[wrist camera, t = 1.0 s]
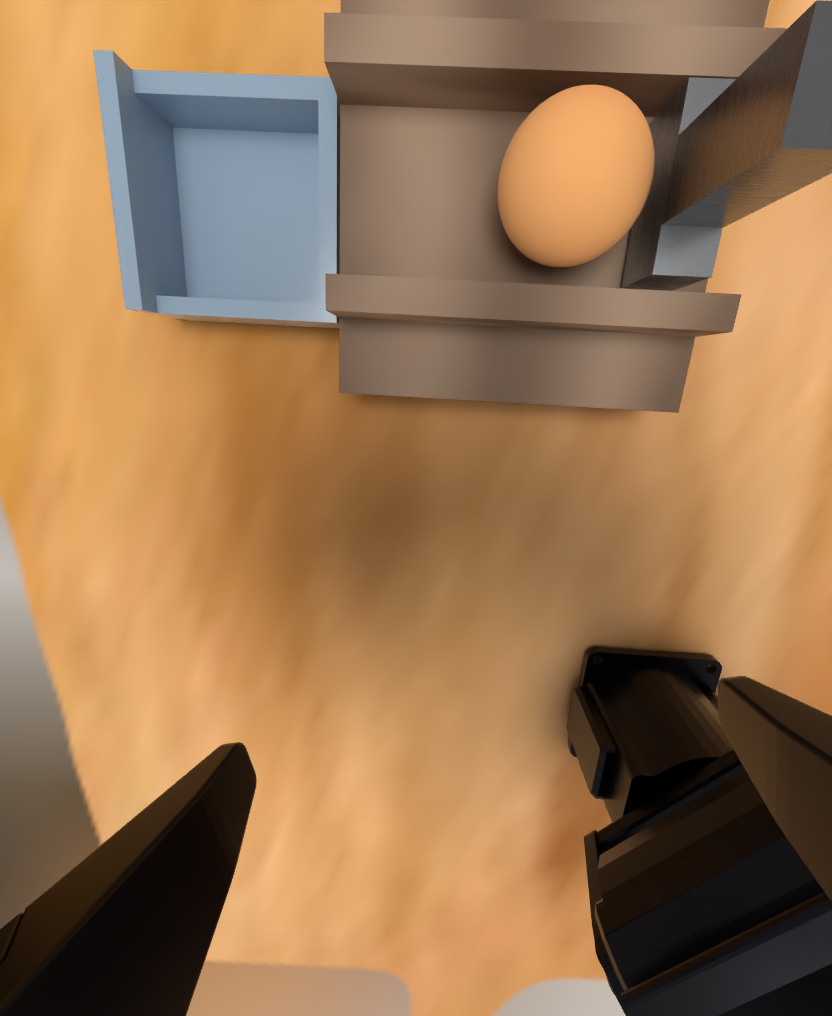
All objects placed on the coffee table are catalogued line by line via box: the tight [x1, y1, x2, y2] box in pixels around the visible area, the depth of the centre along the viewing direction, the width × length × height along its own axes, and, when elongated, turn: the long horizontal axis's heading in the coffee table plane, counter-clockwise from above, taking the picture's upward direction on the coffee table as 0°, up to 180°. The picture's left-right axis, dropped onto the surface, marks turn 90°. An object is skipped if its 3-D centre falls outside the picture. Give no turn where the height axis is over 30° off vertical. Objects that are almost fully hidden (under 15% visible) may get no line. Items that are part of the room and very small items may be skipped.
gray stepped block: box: [622, 1, 832, 291], centre depth 11 cm, size 2×4×7 cm, turn 177°
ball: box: [497, 85, 654, 267], centre depth 12 cm, size 4×4×4 cm
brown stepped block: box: [324, 0, 787, 413], centre depth 15 cm, size 12×12×6 cm
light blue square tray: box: [93, 50, 340, 328], centre depth 16 cm, size 7×7×4 cm
